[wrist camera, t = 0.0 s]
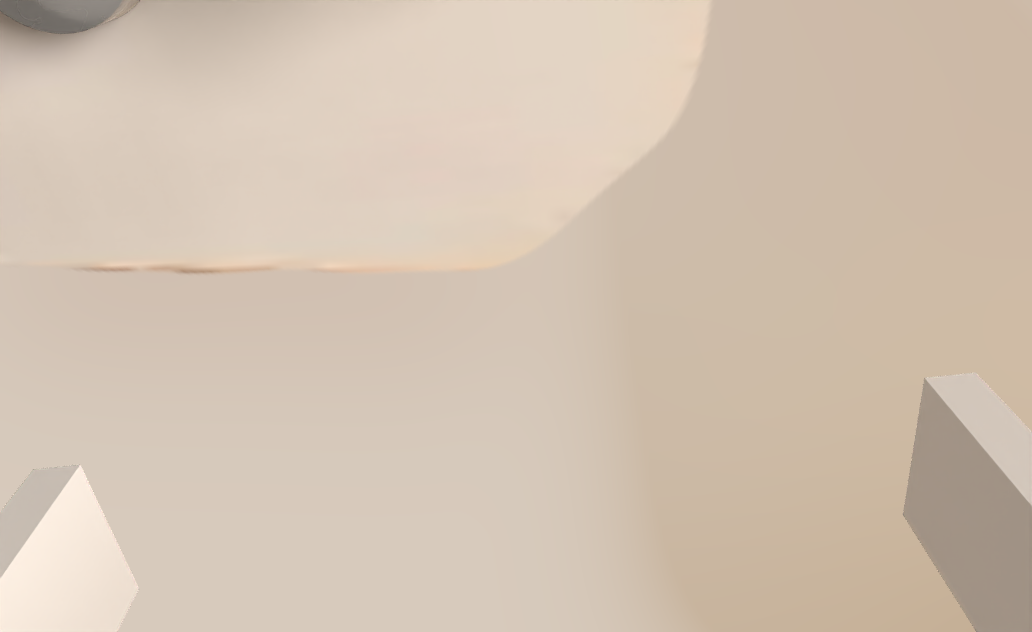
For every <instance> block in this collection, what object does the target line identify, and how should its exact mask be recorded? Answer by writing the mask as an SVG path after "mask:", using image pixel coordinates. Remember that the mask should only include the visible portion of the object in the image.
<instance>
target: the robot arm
mask: <svg viewBox="0 0 1032 632" xmlns="http://www.w3.org/2000/svg"><path fill="white" fill-rule="evenodd" d="M903 516H904V517H905V519H906V520H907V522H908V524H909V525H910V527H911V528H912V530H913V532H914V533H915V535H916V536H917V538H918V540H919V541H920V543H921V544H922V546H923V547H924V549H925V551H926V552H927V554H928V556H929V557H930V559H931V560H932V562H933V564H934V565H935V566H936V568H937V570H938V572H939V573H940V575H941V576H942V578H943V579H944V581H945V583H946V584H947V586H948V587H949V589H950V591H951V592H952V594H953V595H954V597H955V599H956V600H957V602H958V603H959V605H960V607H961V608H962V610H963V611H964V613H965V615H966V616H967V618H968V619H969V621H970V623H971V624H972V626H973V627H974V629H975V631H976V632H1032V431H1031V430H1030V429H1028V427H1027V426H1026V425H1025V424H1024V423H1023V422H1022V421H1021V420H1020V419H1019V418H1018V417H1017V416H1016V415H1015V413H1014V412H1013V411H1012V410H1011V409H1010V408H1009V407H1008V406H1007V405H1006V404H1005V403H1004V402H1003V401H1002V400H1001V399H1000V398H999V397H998V395H997V394H996V393H995V392H994V391H993V390H992V389H991V388H990V387H989V386H988V385H987V384H986V383H985V382H984V381H983V380H982V379H981V378H980V377H979V376H978V375H977V373H969V374H958V375H948V376H938V377H929V378H924V384H923V391H922V397H921V403H920V410H919V416H918V423H917V429H916V435H915V442H914V448H913V454H912V461H911V467H910V473H909V480H908V487H907V493H906V499H905V505H904V512H903ZM138 590H139V588H138V585H137V584H136V581H135V579H134V577H133V575H132V573H131V571H130V569H129V566H128V564H127V562H126V560H125V558H124V556H123V554H122V552H121V550H120V548H119V545H118V543H117V541H116V539H115V537H114V535H113V533H112V531H111V529H110V527H109V524H108V522H107V520H106V518H105V516H104V514H103V512H102V510H101V507H100V505H99V503H98V501H97V499H96V497H95V495H94V493H93V491H92V489H91V486H90V484H89V482H88V480H87V478H86V476H85V474H84V472H83V469H82V467H81V465H73V466H63V467H54V468H43V469H33V470H32V471H31V473H30V474H29V475H28V477H27V478H26V479H25V480H24V482H23V483H22V484H21V486H20V487H19V488H18V490H17V491H16V492H15V493H14V495H13V496H12V497H11V499H10V500H9V501H8V502H7V504H6V505H5V506H4V508H3V509H2V510H1V512H0V632H118V630H119V628H120V626H121V624H122V622H123V620H124V617H125V616H126V614H127V612H128V610H129V608H130V605H131V604H132V601H133V599H134V598H135V595H136V594H137V592H138Z"/></svg>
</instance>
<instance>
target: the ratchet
mask: <svg viewBox="0 0 1032 632" xmlns="http://www.w3.org/2000/svg"><path fill="white" fill-rule="evenodd" d="M139 1H140V0H0V11H1V12H2V13H4V14H5V15H7V16H8V17H10V18H12V19H13V20H15V21H17V22H19V23H21V24H23V25H25V26H28V27H31V28H34V29H37V30H40V31H45V32H49V33H60V34H66V33H76V32H81V31H85V30H88V29H90V28H93V27H96V26H98V25H101V24H103V23H106V22H108V21H111V20H114V19H116V18H119V17H120V16H122V15H124V14H126V13H127V12H128V11H130V10H131V9H132V8H133V7H135V5H136V4H137V3H138V2H139Z"/></svg>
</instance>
